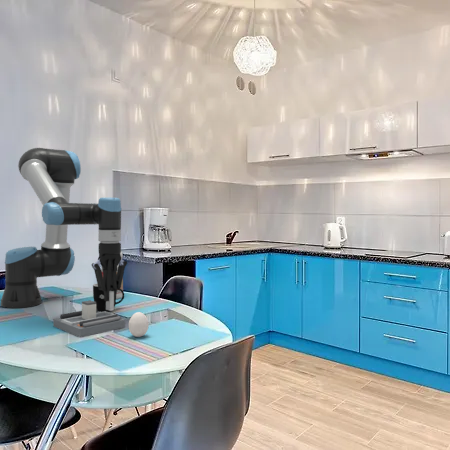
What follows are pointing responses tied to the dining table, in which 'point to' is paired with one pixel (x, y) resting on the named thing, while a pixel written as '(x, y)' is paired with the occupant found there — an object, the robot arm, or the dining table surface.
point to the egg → (138, 324)
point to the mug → (102, 298)
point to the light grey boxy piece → (88, 309)
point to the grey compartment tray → (74, 328)
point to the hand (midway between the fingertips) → (109, 309)
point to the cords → (92, 321)
